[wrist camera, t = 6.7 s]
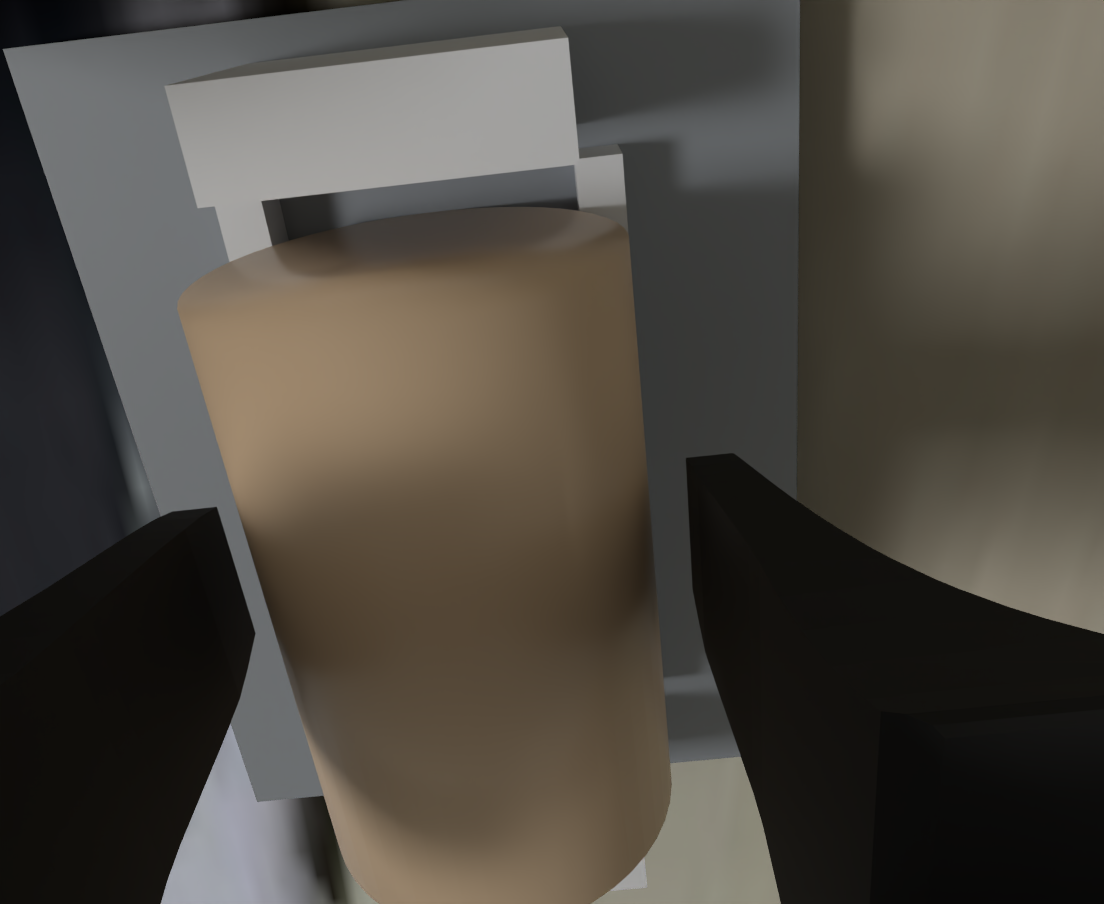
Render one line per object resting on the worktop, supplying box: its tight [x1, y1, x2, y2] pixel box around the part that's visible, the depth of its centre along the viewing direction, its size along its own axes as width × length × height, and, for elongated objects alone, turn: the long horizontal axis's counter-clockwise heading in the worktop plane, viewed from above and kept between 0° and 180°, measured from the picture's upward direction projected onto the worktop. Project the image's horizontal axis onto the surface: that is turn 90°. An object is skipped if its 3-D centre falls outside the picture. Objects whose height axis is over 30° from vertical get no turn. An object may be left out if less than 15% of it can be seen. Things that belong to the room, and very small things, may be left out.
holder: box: [3, 0, 800, 891], centre depth 14 cm, size 10×13×4 cm
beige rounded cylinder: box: [177, 207, 672, 904], centre depth 12 cm, size 5×8×5 cm, turn 6°
